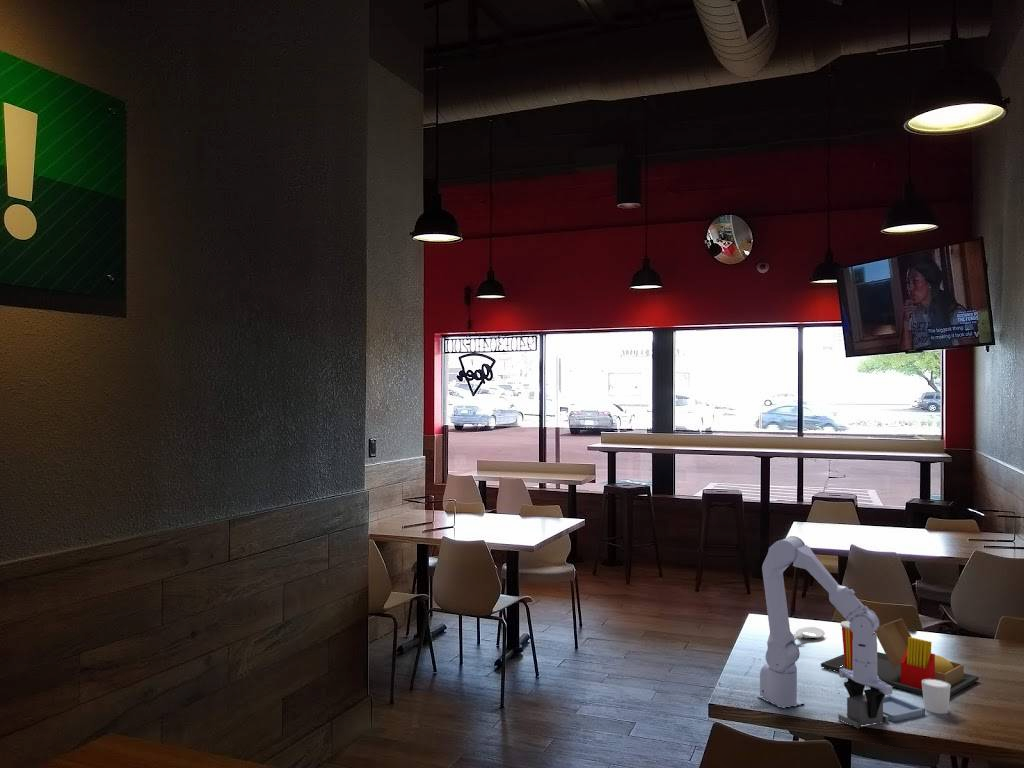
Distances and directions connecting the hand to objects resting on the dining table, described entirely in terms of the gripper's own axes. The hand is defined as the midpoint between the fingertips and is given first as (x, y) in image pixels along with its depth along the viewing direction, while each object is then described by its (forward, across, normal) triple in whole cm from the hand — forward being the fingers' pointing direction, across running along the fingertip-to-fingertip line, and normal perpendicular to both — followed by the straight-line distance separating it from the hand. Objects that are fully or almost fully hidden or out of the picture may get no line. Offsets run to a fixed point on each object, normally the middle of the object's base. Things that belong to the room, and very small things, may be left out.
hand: (865, 714), depth 197 cm
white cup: (+2, -2, -24) cm, 25 cm away
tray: (+2, +2, -12) cm, 13 cm away
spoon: (+2, +57, -35) cm, 67 cm away
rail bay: (+2, 0, 0) cm, 2 cm away
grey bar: (+2, 0, 0) cm, 2 cm away
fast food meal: (+3, +22, -39) cm, 45 cm away
